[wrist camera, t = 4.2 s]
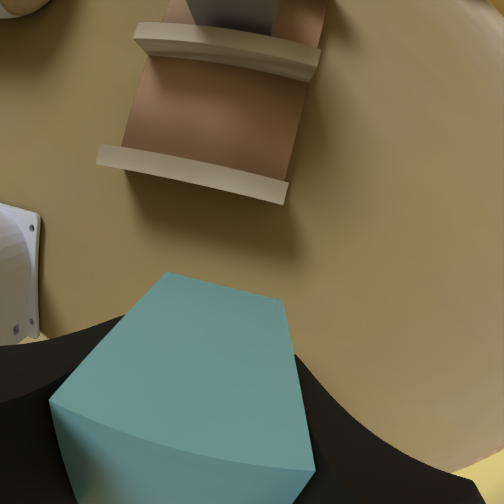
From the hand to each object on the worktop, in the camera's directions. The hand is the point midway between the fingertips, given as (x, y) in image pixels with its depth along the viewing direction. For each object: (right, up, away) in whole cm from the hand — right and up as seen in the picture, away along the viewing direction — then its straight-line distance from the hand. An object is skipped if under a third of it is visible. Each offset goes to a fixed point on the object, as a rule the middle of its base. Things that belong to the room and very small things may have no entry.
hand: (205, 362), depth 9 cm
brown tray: (0, +14, +6) cm, 15 cm away
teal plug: (0, 0, +2) cm, 2 cm away
